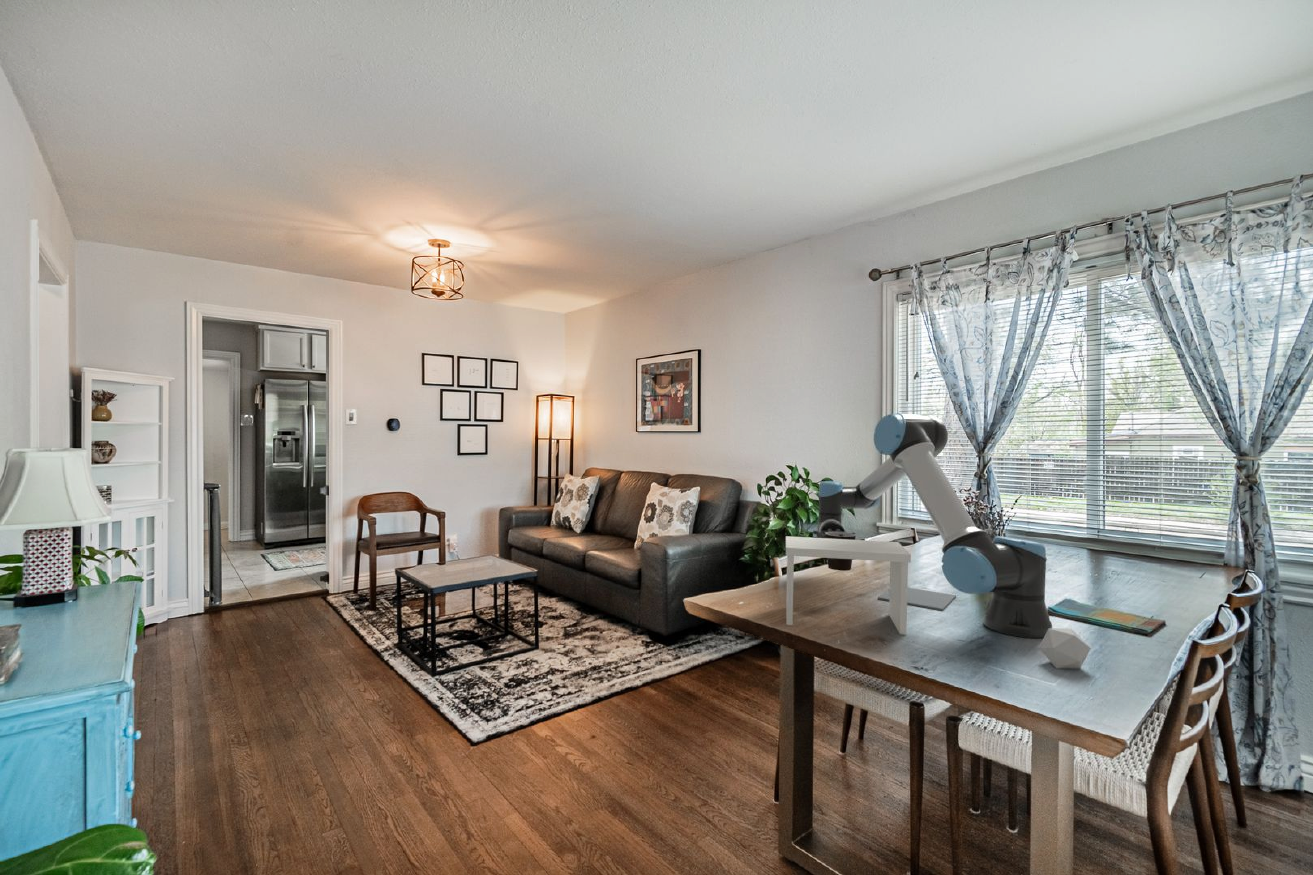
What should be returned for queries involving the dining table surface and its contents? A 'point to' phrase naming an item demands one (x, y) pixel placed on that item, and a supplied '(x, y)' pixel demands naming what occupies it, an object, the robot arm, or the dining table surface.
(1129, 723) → the dining table surface
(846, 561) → the coffee mug
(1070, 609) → the dish towel
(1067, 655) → the die
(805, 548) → the shelf stand
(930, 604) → the placemat
